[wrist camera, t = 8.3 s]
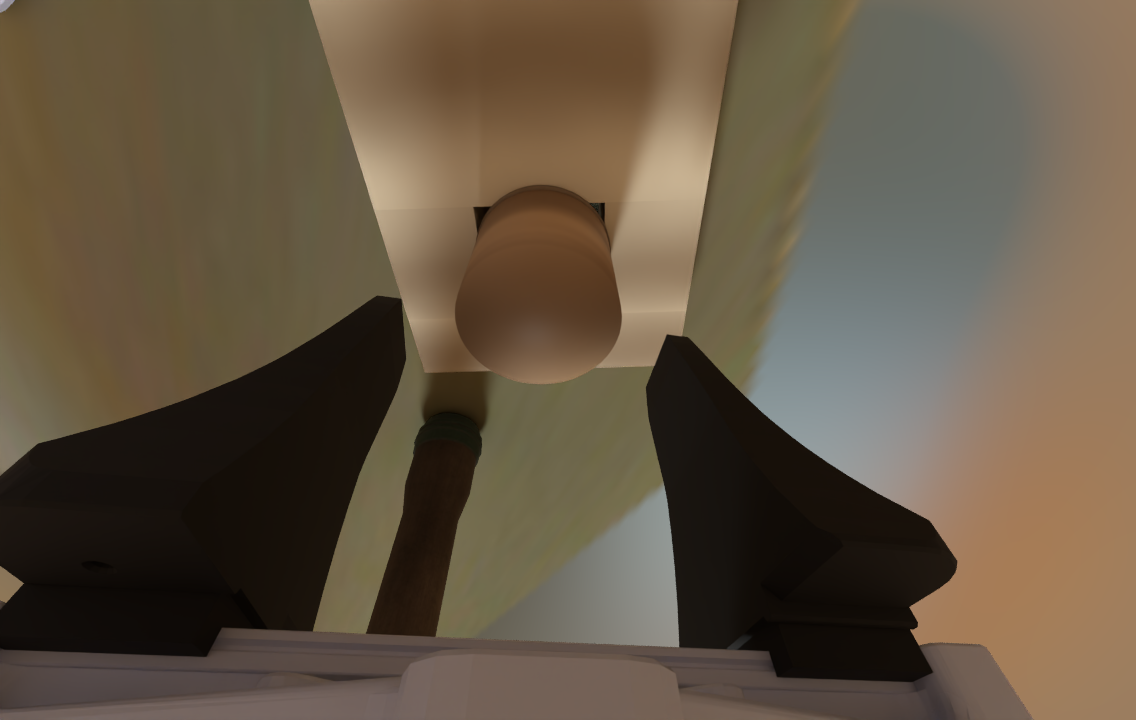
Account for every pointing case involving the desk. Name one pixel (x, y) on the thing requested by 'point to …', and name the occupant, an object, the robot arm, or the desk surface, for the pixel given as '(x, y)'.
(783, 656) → the robot arm
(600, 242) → the peg
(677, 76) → the board
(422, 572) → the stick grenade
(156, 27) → the desk surface
